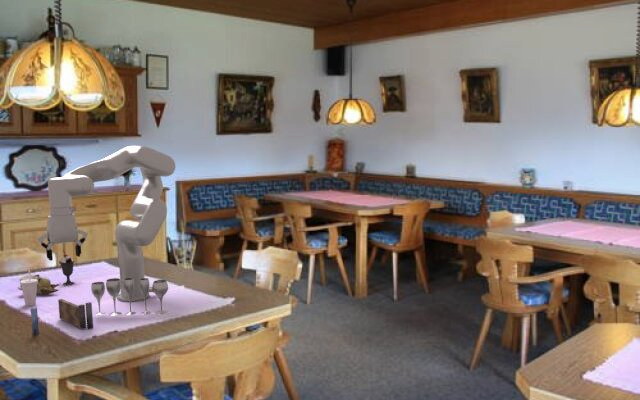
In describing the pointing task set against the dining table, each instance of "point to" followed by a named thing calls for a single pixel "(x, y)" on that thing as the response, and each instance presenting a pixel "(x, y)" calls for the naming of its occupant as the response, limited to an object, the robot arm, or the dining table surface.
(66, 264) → the sundae
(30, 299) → the smoothie
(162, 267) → the dining table surface
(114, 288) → the goblet set
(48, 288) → the ceramic sculpture
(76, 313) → the gate
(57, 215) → the robot arm
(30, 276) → the teacup
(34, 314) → the grey upright cylinders
